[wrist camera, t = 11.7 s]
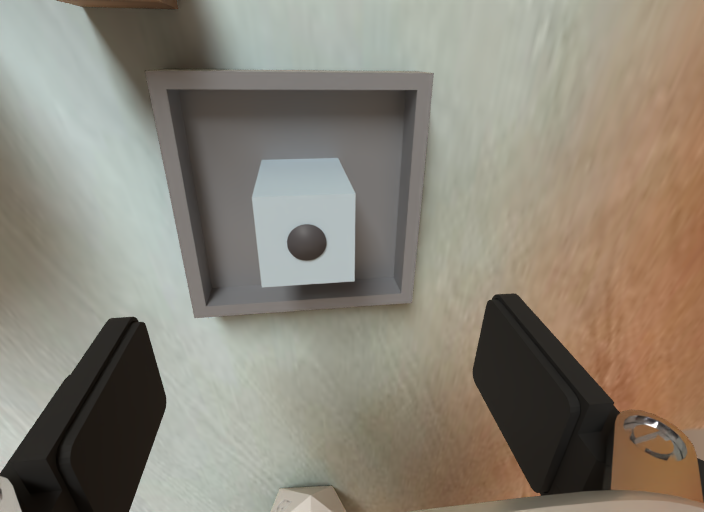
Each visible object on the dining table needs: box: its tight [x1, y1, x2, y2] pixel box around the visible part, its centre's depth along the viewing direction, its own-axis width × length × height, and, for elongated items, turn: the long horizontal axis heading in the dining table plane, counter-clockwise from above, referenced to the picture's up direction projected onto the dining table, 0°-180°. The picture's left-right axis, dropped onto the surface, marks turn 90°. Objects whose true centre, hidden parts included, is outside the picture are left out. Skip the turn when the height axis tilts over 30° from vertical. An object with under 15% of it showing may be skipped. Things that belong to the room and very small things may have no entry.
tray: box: [145, 69, 434, 318], centre depth 24 cm, size 14×14×3 cm
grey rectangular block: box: [252, 158, 356, 287], centre depth 21 cm, size 4×4×7 cm
